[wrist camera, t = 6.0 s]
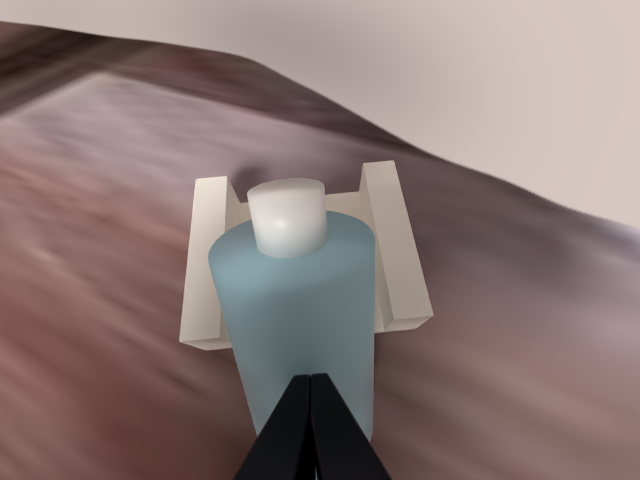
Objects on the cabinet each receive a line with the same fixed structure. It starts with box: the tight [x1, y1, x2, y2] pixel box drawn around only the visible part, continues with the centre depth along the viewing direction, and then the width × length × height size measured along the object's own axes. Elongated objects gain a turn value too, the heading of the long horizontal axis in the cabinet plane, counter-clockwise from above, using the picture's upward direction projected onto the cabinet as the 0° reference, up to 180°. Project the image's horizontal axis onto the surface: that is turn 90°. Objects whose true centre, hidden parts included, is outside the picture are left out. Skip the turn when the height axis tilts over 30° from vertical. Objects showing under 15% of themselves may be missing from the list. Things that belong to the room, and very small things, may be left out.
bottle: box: [208, 178, 375, 480], centre depth 10 cm, size 5×5×10 cm
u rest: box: [179, 160, 434, 351], centre depth 15 cm, size 8×10×3 cm
